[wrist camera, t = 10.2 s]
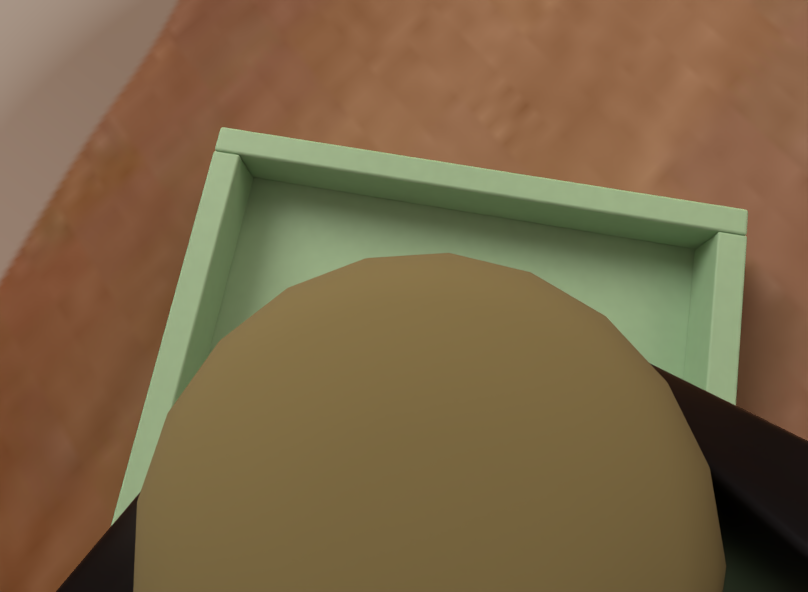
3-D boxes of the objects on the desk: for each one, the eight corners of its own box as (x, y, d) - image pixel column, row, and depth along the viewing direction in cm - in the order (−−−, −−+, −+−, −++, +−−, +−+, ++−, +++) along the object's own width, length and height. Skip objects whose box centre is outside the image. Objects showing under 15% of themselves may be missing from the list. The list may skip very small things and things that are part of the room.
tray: (661, 890, 14) (700, 961, 12) (85, 756, 15) (34, 801, 13) (712, 237, 18) (749, 208, 16) (241, 161, 19) (220, 125, 17)
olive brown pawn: (497, 681, 14) (717, 1333, 4) (251, 559, 15) (-182, 797, 4) (593, 420, 15) (962, 324, 5) (360, 321, 16) (239, 50, 6)
